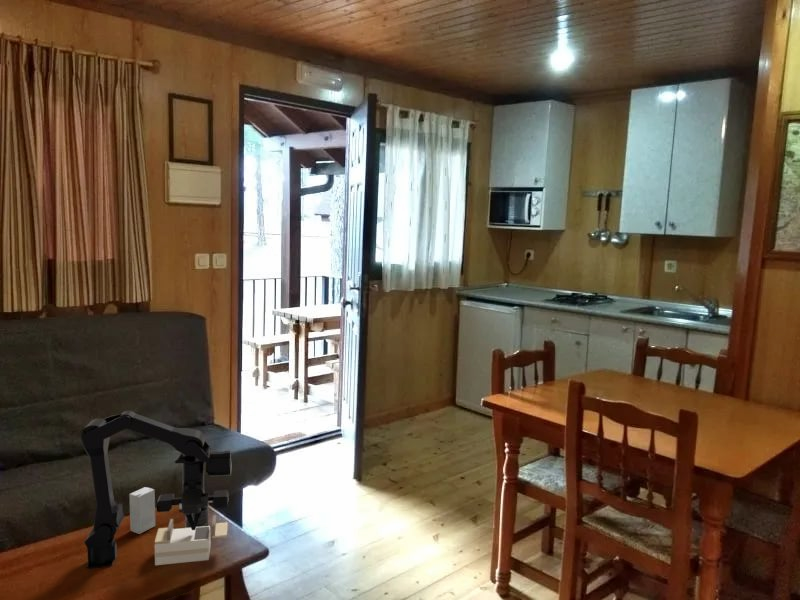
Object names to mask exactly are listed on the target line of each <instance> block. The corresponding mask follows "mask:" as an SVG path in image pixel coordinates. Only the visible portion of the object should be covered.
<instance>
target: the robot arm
mask: <svg viewBox="0 0 800 600" xmlns="http://www.w3.org/2000/svg"><path fill="white" fill-rule="evenodd" d="M124 430H128V431H131V432H135V433H136V434H137V433H138V434H140V435H143V436H145V437H149V438H152V439H154V440H158V441H160V442H164V443H166V444H168V445H170V446H171V447H172V448H173V449H175V450H176V451H178V452H179V453H180V454H179V455H178V456H176V458H175V461H174V463H175V464H182V492H181V495H180V496H181V497H175V493H174V492H173V493H161V494H160V495H159V496H158V499H157V502H156V512H158V513H165V512H170V511H171V510H172V509H173V506H178V507H179V508H178V509H179V510H178V512H179V513H180V514H183V515H184V516H185V515H186V517H187V519H188V521H189V524H190V526H191V529H192V530H195V529H196V526H197V523H198V520H199V517H200V515H201V513H202V512H203V511H206V510H207V506H208V503H209V504H210V503H211V504H212V506H213V507H214V508H215V509H221V508H226V507H228V506H229V491H228V490H227V489H222V490H213V495H212V494H211V495H209V493H208V492H205V493H204V490H205V473H207V475H208V476H210V477H224V476H225V477H226V476H232V470H233V469H232V467H233V465H232V464H233V459H232V455H231V453H232V451H231V450H223V451H212V450H213V448H212V446H210V444H209V443H208V442H207V441H206V438H205V435H204V433H203V432H202V431H201V430H199V429H195V428H189V427H175V426H172V425H169V424H167V423H164V422H161V421H158V420H155V419H152V418H150V417H147V416H144V415H141V414H138V413H136V412H134V411H133V410H125V411H123V412H121V413H118V414H113V415H110V416H108V417H105V418H93V419H92V420H91V421H90V422H88V423H87V425H86V426H85V427H84V428H83V429H82V431H81V434H80V439H81V442H82V446H83V448H84V451H85V452H86V455H88V456H89V459H90V460H89V461H90V468H91V475H92V482H93V483H92V484H93V490H94V497H95V505H96V506H95V507H96V508H95V513H94V518H93V527H92V529H91V530H90V532H89V534H88V535H87V536H86V539H85V540H84V545H85V546H86V550H87V552H86V553H87V563H86V567H85V568H86V569H93V568H102V567H112V566H113V564H114V562H115V561H116V559H117V556H118V544H117V543H118V542H117V541H115V535H116V533H117V531H118V529H119V528H120V526H121V523H122V522H123V519H124V517H125V513H124V511H123V503H118V504H117V501H115V498H114V492H113V491H114V490H113V483H112V476H111V475H112V474H111V469H110V467H111V466H110V461H109V454H108V451H109V450H108V449H109V445H110V441H111V437H113V436H114V435H116V434H119V432H121V431H124ZM193 513H195V518H193Z"/></svg>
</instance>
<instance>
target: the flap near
mask: <svg viewBox="0 0 800 600" xmlns="http://www.w3.org/2000/svg"><path fill="white" fill-rule="evenodd" d="M173 529H175V528H174V518H170V519H169V523H168V527H158V529H157V532H156V536H155V539H154V544H155V543H166V542H170V541H171V537H172V533H173Z"/></svg>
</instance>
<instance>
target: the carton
mask: <svg viewBox="0 0 800 600" xmlns="http://www.w3.org/2000/svg"><path fill="white" fill-rule="evenodd" d="M210 551H211V525H209V526H202V527H196V529H195V530H192V529H191V528H186V527H182V528H174V529H173V533H172V537H171V541H170V542H166V543H155V542H154V566H162V565H163V566H164V565H173V564H181V563H183V564H184V563H191V562H193V563H194V562H201V561H202V562H203V561H209V560H210V553H211V552H210Z"/></svg>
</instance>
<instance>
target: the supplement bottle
mask: <svg viewBox="0 0 800 600" xmlns="http://www.w3.org/2000/svg"><path fill="white" fill-rule="evenodd" d="M204 493H206V490H205V489H204ZM209 504H210V503H208V506H207V510H206V511H203V512H202V513H201V515H200V517H199V520H198V523H197V526H196V527H202V526H210V523H209V522H210V520H209V519H210V518H209V517H210V515H209V513H210V510H209ZM184 517H185V518H184V519H185V523H184V524H185V525H184V526H185V528H191V526H190V524H189V521H188V519H187V517H186V515H185V514H184ZM193 518H195V513H193Z"/></svg>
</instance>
